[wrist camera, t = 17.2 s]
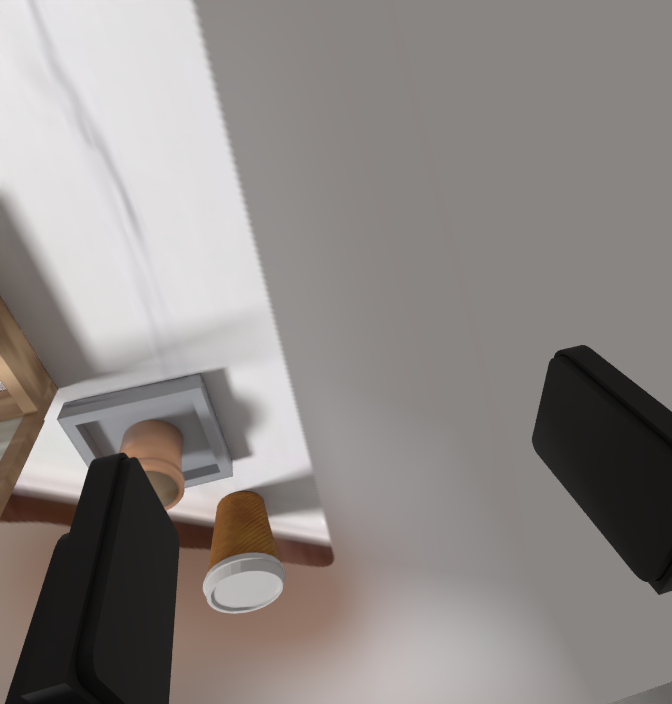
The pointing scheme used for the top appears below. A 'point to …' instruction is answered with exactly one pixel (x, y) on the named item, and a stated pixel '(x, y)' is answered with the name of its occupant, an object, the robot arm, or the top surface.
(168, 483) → the terracotta pot
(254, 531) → the disposable coffee cup
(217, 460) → the slate tray
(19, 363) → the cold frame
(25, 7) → the top surface
